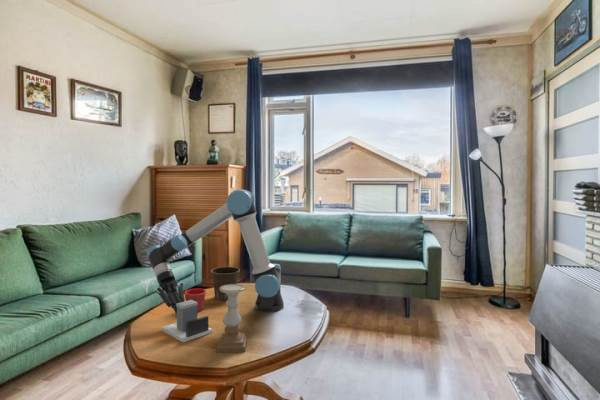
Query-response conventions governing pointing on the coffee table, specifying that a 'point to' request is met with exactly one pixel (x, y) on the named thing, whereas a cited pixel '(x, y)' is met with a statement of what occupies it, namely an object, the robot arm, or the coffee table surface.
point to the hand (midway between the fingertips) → (182, 318)
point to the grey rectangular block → (186, 313)
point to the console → (189, 329)
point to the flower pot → (196, 297)
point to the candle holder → (232, 322)
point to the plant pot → (224, 280)
